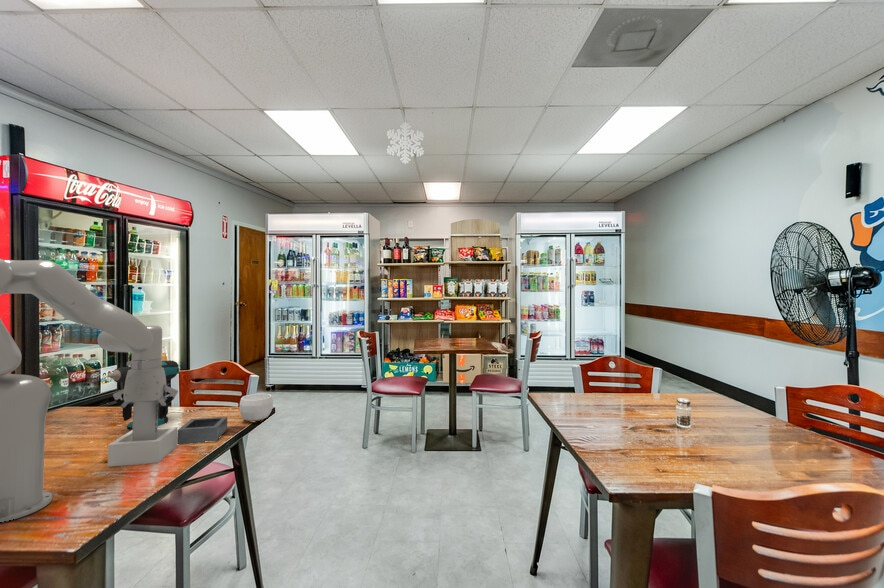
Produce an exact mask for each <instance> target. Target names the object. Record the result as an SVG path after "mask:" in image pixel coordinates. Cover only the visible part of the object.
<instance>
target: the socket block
mask: <svg viewBox="0 0 884 588" xmlns="http://www.w3.org/2000/svg"><path fill="white" fill-rule="evenodd" d="M226 429H227V430H228V416H220V417H202V418H201V417H200V418H191V419H190V420H189V421H187V422H186V423H185V424H183V425H181V426H180V427H179V428H177V444H179V445H189V444H190V443H193V444H199V443H198V442H205V441H217V439H218V438H219V437H220V436H221V435H222V434H223V433H224V432H225V430H226ZM225 433H226V432H225ZM225 433H224V434H225ZM224 434H223V435H224ZM223 435H222V436H223ZM222 436H221V437H222ZM221 437H220V438H221ZM220 438H219V439H220ZM217 442H218V441H217ZM190 445H191V444H190Z"/></svg>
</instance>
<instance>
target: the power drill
mask: <svg viewBox="0 0 884 588" xmlns="http://www.w3.org/2000/svg"><path fill="white" fill-rule="evenodd" d="M179 366H180V365H179V363H178V362H176V360H175V361H174V360H162V367H161V368H164V371H165V376H166V384H167V383H168V382H170V381H171V380H172V379H173V378H175V377H176V376H177V375H178V373H179V372H180V367H179ZM131 369H132V368H131V366H123V367H117V368H115V369H114V370H113V371H112V372H111V374H109V375H108V374H107V376H106V377H107V378H111V379H112V380H113V382H115V383H125V381H126V376H127V373H128V370H131ZM160 406H162V405H161V404H160V403H159V402H158V427H159V426H162V425H164V424H165V423H166V424H167V422H168V423H169V417H168V415H166V417H164V418H163V419H160ZM126 429H127V430H129V429H133V420H132V421H130V422H128V423H127V425H126Z"/></svg>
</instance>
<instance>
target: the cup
mask: <svg viewBox="0 0 884 588" xmlns="http://www.w3.org/2000/svg"><path fill="white" fill-rule="evenodd" d="M273 404H274V400H273V397H272V394H270V393H263V392H262V393H251V394H247V395H243V396H242V397H241V398H240V401H239V412H240V416H241V418H242V419H243V420H244V421H245V420H246V421H248V422H249V421H260V420H261V421H260V422H262V421H264V419H267V418H268V417H269V416H270V414H271V412H272V410H273V407H274V405H273Z"/></svg>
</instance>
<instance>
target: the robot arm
mask: <svg viewBox="0 0 884 588" xmlns="http://www.w3.org/2000/svg"><path fill="white" fill-rule="evenodd" d="M5 294H8V295H9V294H23V295H25V294H29V295H30V294H31V295H32V296H34V297H36V298H37V299H38V300H40V301H41V302H43V303H44V304H46V305H47V306H48V307H50V308H51V309H53V310H54V311H55V312H57V314H59V315H61V316H62V317H63V318H64V319H66V320H68V321H70V322H73V323H76V324H79V325H81V326H85V327H86V326H87V327H89V328H94V329H97V330H100V331H101V332H100V333H99V334H98V336H97V345H98V346H99V348H101V349H102V350H104V351H107V352H111V353H129V354H130V353H131V360H129V361H127V362H126V367H130V366H131V368H132V369H131V370H128V373H127V376H126V381H125V382H124V388H123V389H120V390H119V391H118V390H117V392H114V393H113V394H112V396H113V398H114V400H115V402H116V403H117V404H118V405H119V406H120V409H122V418H123V422H126V421H129V420H130V419H133V405H131V404H132V403H134V402H152V401H158V402H159V403H160V404H161V406H160V419H163V418H164V417H166V416H168V414H169V404H170V403H172V401H173V400H174V399H175V398H176V396H177V395H178V393H179V390H177V389H175V388H173V387H171V386H168V385H167V383H166V376H165V371H164V368H161V367H162V361H163V360H162V359H163V358H162V356H163V355H162V354H163V328H162V327H161V326H159V325H145V324H144V323H143V322H142V321H140V319H139V318H137V317H136V316H135V315H133V314H131V313H130V312H127V311H126V310H124V309H122V308H120V307H118V306H116V305H114V304H113V303H110V302H108V301H107V300H104V299H103V298H101V297H99V296H98V295H96V294H95V293H94V292H93V291H92V290H90V289H89V288H88V287H86V285H85V284H83V283H82V282H81V281H79V280H78V279H77V278H76V276H74V275H72V273H70V272H69V271H68V270H67V269H65V268H64V267H63V266H62V265H60V264H58V263H56V262H54V261H51V260H45V259H44V260H43V259H32V260H31V259H29V260H26V259H25V260H22V259H21V260H17V259H16V260H14V259H7V260H6V259H2V258H0V297H1V296H2V295H5ZM21 363H22V352H21V350H20V348H19V346H18V344H17V343H16V341H15V340H14V338H13V337H12V335H11V334H10V332H9V331H8V329H7V327H6V325H5V324H4V322H3V320H2V317H0V522H2V523H5V522H4V521H6V522H10V521H9V520H11V521H14V520H17V519H20V518H23V517H26V516H29V515H31V514H34V513H36V512H38V511H40V510H41V509H43V508H45V507H46V506H48V505H49V504H50V503H51V502H52V500H53V494H52V493H51V492H49V491H44V475H45V474H44V471H45V469H44V468H45V464H44V463H45V433H46V432H45V431H46V419H47V418H46V417H47V414H48V409H49V405H50V401H51V399H52V398H51V397H52V390H51V387H50V385H49V384H48V382H46V381H45V380H44V379H42V378H40V377H37V376H33V375H29V374H19V373H18V374H17V373H12V372H14V371H15V370H16V369H18V367H20V365H21ZM167 393H169V394H170V396H169V397H167ZM122 395H123V397H122ZM13 519H14V520H13Z"/></svg>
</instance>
